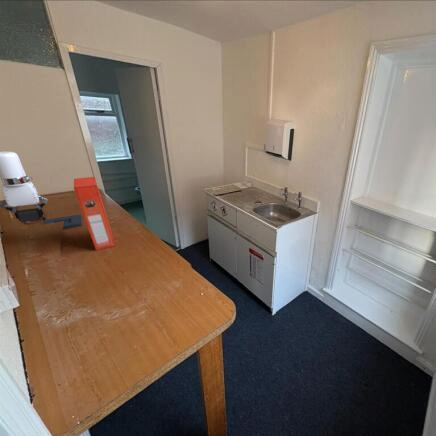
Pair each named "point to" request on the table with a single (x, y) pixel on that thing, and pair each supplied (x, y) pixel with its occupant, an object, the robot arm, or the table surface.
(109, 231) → the file binder
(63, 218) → the socket pad
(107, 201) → the table surface
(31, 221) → the sunglasses case
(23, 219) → the black pad
